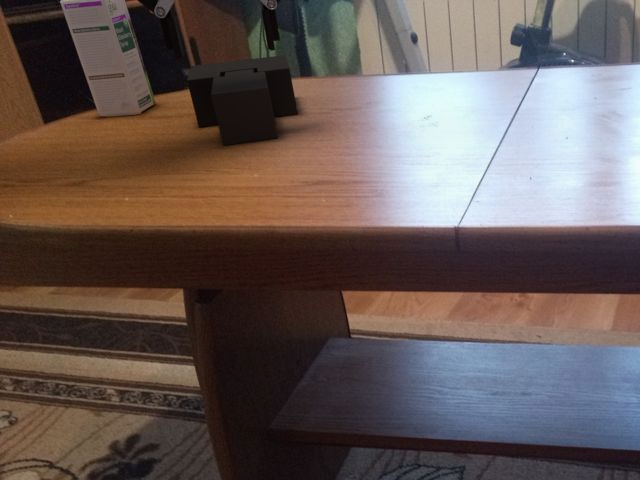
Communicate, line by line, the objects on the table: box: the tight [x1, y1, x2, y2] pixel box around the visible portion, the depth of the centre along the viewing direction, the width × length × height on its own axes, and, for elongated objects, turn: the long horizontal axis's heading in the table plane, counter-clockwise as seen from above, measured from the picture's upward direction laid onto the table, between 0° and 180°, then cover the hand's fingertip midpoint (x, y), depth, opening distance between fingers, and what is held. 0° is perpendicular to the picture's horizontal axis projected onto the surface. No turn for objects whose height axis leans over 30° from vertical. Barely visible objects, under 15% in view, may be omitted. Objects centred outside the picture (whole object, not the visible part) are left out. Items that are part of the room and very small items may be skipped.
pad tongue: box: [211, 69, 279, 146], centre depth 85 cm, size 6×13×6 cm, turn 15°
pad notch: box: [186, 54, 299, 128], centre depth 93 cm, size 12×10×6 cm
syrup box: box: [59, 0, 157, 117], centre depth 96 cm, size 6×6×14 cm
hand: (226, 52), depth 79 cm, fingers open, 9 cm apart
